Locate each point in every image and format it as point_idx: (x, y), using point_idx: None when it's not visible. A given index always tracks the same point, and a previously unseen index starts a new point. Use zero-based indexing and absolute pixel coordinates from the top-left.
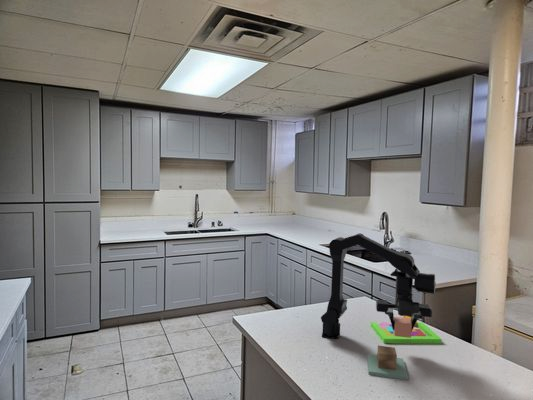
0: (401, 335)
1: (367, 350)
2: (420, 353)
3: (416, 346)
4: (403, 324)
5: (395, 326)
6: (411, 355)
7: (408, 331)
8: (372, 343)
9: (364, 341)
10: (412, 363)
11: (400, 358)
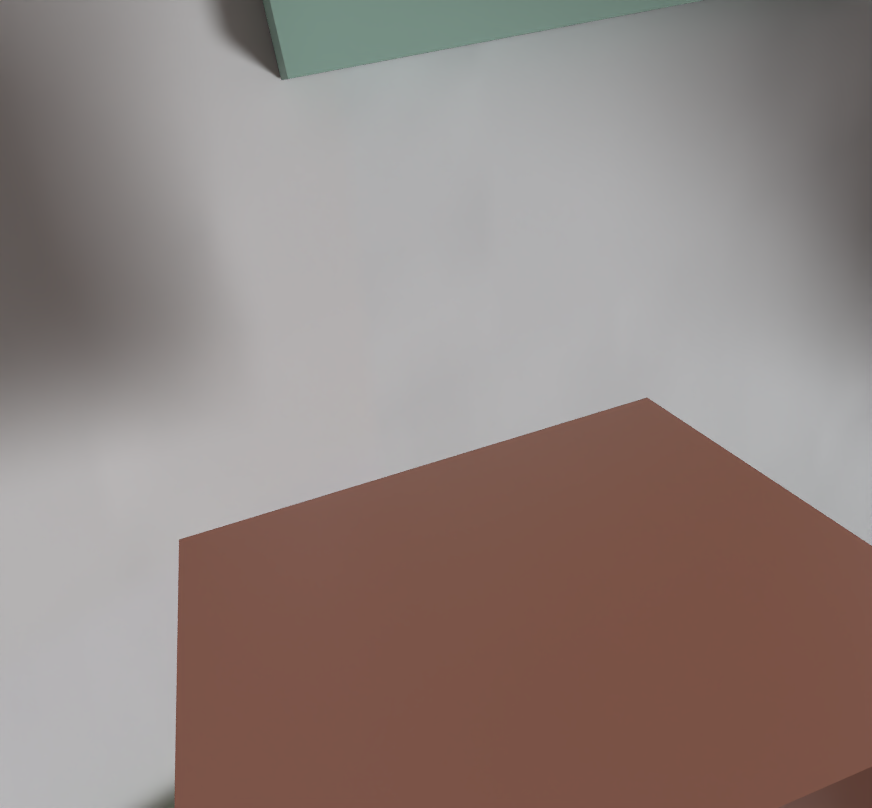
0: (479, 474)
1: (840, 204)
2: (32, 575)
3: (150, 759)
4: (634, 798)
5: (864, 563)
6: (169, 414)
7: (295, 645)
8: (761, 470)
9: (855, 466)
10: (86, 80)
11: (337, 55)
